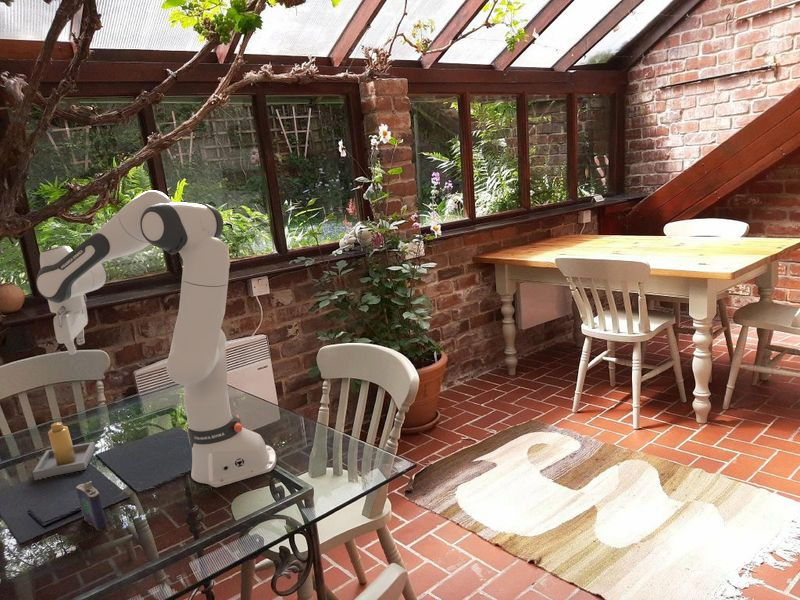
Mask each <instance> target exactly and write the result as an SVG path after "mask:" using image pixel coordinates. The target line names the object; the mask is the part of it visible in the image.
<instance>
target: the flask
mask: <svg viewBox="0 0 800 600" xmlns="http://www.w3.org/2000/svg"><path fill="white" fill-rule="evenodd" d="M91 483H92V480H89V482H88V481H87V482H85V483H81V484H78V485H77V486H75V489H76V494H77V497H78V502H79V506H80V510H81V513H82V516H83V515H84V519H83V520H84V521H85V522H87V523H88V525H90V526H92V528H95V529H96V530H97V531H105V529H107V528H108V522H107V519H106V515H105V511H104V507H103V504H102V499H101V495H100V492H99V490H98V489H97V488H95V487H94V486H93V485H92V484H91Z"/></svg>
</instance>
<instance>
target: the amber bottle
mask: <svg viewBox="0 0 800 600" xmlns="http://www.w3.org/2000/svg"><path fill="white" fill-rule="evenodd" d="M47 434H48V438H49V442H50V445H51V449H53V453H54V456H55V460H56V463H57V465H58V466H60V465H66V464H71V463H73V462H74V461H75V460H76V456H75V452H74V448H73V441H72V438H71V435H70V434H71V433H70V429H69V427H68V426H66V425H63V422H61V421H57V422H54V423H52V424H50V429H49V430H48V432H47Z"/></svg>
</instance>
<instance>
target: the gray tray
mask: <svg viewBox="0 0 800 600" xmlns="http://www.w3.org/2000/svg"><path fill="white" fill-rule="evenodd" d="M95 443H96V442H95V441H92V442H85V443H79V444H75V445H73V444H72V445H73V448H74V452H75V456H76V460H75V461H74V462H73V463H71V464H66V465H60V466H58V465H57V463H56V460H55V456H54V453H53V449H52V448H51V449H47V450H45V452H44V454H43V455H42V457H41V458H40V459H39V461H38V463H37V464H36V466H35V467H34V469H33V471H32V477H33V480H34V481H37V480H38V479H39V480H43V479H42V478H44V479H48V478H47V477H50V476H54V475H59V474H64V473H69V472H74V471H81V470H85V469H86V468H87V469H88V467H87V466H89V465H90V463H91V461H92V458H93V456H94V454H95V453H96V450H97V449H96V444H95ZM88 464H89V465H88ZM87 469H86V470H87ZM81 472H82V471H81ZM50 478H51V477H50ZM39 480H38V481H39Z"/></svg>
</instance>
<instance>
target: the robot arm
mask: <svg viewBox="0 0 800 600" xmlns="http://www.w3.org/2000/svg"><path fill="white" fill-rule="evenodd" d="M223 232H224V220H223V216H222V214H221V212H220V211H219V210H218V209H217V208H216V207H214V206H213V205H210V204H207V203H203V202H197V203H193V202H184V201H177V202H173V201H172V199H170V197H169V196H167V195H166V194H165V193H164V192H162V191H159V190H153V189H150V190H147V191H144V192H142V193H141V194H140V193H139V195H137V196H136V197H134V198H133V199H131V200H130V201H129V202H127V203H126V204H125V205H124V206H123V207H121V209H119V211H118V212H116V213H115V214H114V215H113V216H112V217H111V218H110V219H109V220H108V221H107V222H106V223H105V224H103V226H101V227H100V228H99V229H98V230H96V231H95V232H94V233H93V234H91V236H89V237H88V238H87V239H85V240H84V241H83V242H82V243H80V244H78V245H77V246H76V247H75V248H74V249H72V248H71V247H70V246H69V245H60V246H55V247H52V248H47V249H44V250H42V251H41V253H40V254H39V265H40V269H39V271H38V272H37V273H38V274H37V276H36V280H35V286H36V290H37V292H38V293H39V295H41V296H42V297H43V298H45V299H46V300H47V302H48V306H49V310H50V313H53V314H56V315H55V316H54V317H53V328H54V334H55V339H56V341H57V344H64V345H65V347H66V349H67V352H68V354H69V355H71V356H72V355H75V354H76V353H77V352H78V350H77V346H76V345H78V346H82V345H83V344H85V329H84V328H85V327H86V326H87V325H88V322H89V317H88V310H87V304H86V302H87V296H86V294H89V293H90V292H94V291H96V290H99V289H101V288H103V287H104V286H105V284H106V282H107V278H108V273H107V269H106V267H105V265H104V263H105V262H108V261H112V260H114V259H118V258H122V257H125V256H129V255H133V254H135V253H138V252H140V251H142V250H143V249H145V248H147V247H149V246H150V245H151V246H154V247H156V248H159V249H161V250H163V251H164V252H165V253H167V254H169V255H176V254H177V253H179V254H180V256H181V258H182V275H181V286H180V293H179V295H180V297H179V305H178V306H179V307H178V312H177V313H178V314H177V317H176V321H175V325H174V329H173V334H172V339H171V345H170V350H169V354H168V356H167V357H168V358H167V361H166V366H165V367H166V372H167V373H166V374H167V375H168V376H169V378H170V380H172V381H173V382H174V383H176V384H178V385H180V386H184V393H183V404H184V408H185V413H186V414H185V415H186V418H187V438H188V442H189V445H190V447H191V456H192V457H191V458H192V461H191V463H192V466H191V473H190V476H191V479H192V480H193V481H195V482H197V483H200V484H206V485H209V486H211V487H214V488H219V487H223V486H225V485H230V484H232V483H236V482H239V481H242V480H243V481H244V480H246V479H250V478H253V477H256V476H259V475H262V474H265V473H270V472H271V471H273V469H274V468H275V466H276V465H277V454H276V451H275V450H274V448H273V447H271V446H270V445H267V444H266V443H265V440H264V439H263V437H262V436H261V434H259V433H257V432H255V431H252V430H249V429H248V428H245V427H243V424H242V422H241V418H240V416H239V414H237V415H236V416H235V415H233V414H232V411H231V405H230V397H229V392H228V364H227V363H228V362H227V361H228V360H227V359H228V358H227V336H226V334H225V332H224V331H223V330H222V325H223V322H224V317H225V313H226V306H227V305H226V304H227V297H228V296H227V295H228V287H229V286H228V285H229V278H230V277H229V275H230V264H229V263H230V260H229V258H230V257H229V250H228V247H227V244H226V243H225V242H224V241H223V240H221V239H220V237H221V235H222V234H223ZM75 338H76V340H75ZM75 341H76V345H75Z"/></svg>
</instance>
